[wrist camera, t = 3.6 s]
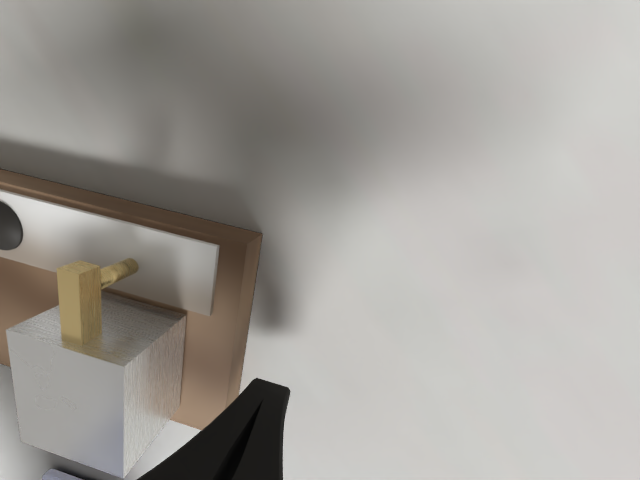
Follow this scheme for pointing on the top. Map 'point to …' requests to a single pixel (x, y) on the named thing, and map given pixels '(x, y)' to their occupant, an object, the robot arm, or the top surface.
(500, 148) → the top surface
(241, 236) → the gauge board
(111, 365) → the block
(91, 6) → the top surface
